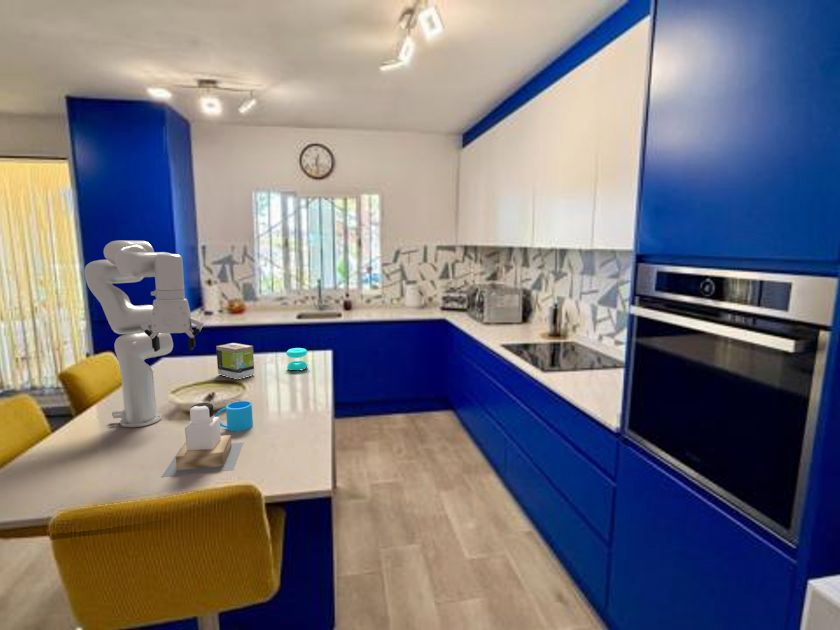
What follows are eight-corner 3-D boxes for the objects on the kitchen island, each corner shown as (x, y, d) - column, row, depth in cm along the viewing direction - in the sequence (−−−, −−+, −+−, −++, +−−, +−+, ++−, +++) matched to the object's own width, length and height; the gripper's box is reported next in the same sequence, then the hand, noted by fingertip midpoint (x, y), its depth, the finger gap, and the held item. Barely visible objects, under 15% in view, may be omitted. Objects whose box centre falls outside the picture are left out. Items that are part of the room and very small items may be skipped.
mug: (255, 422, 159) (254, 400, 157) (250, 432, 151) (249, 408, 149) (219, 424, 157) (217, 402, 156) (212, 434, 149) (210, 410, 148)
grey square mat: (161, 479, 120) (161, 477, 120) (180, 449, 137) (180, 447, 137) (233, 471, 124) (233, 469, 124) (243, 444, 141) (243, 442, 141)
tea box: (255, 375, 216) (253, 345, 214) (237, 381, 208) (235, 349, 206) (235, 371, 224) (233, 341, 222) (217, 375, 216) (215, 345, 214)
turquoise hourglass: (289, 347, 232) (309, 347, 231) (290, 366, 233) (309, 366, 233) (283, 351, 222) (304, 352, 222) (284, 371, 223) (304, 371, 223)
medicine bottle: (196, 440, 133) (193, 401, 131) (221, 439, 134) (218, 400, 132) (186, 451, 126) (183, 409, 124) (213, 449, 127) (210, 408, 125)
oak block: (176, 470, 123) (175, 456, 123) (188, 451, 135) (187, 438, 134) (223, 465, 126) (223, 452, 125) (231, 447, 138) (230, 434, 137)
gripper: (133, 296, 131) (138, 354, 134) (198, 296, 135) (201, 352, 138) (143, 293, 138) (147, 348, 141) (204, 293, 142) (207, 346, 145)
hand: (174, 350), depth 140 cm, fingers open, 9 cm apart
